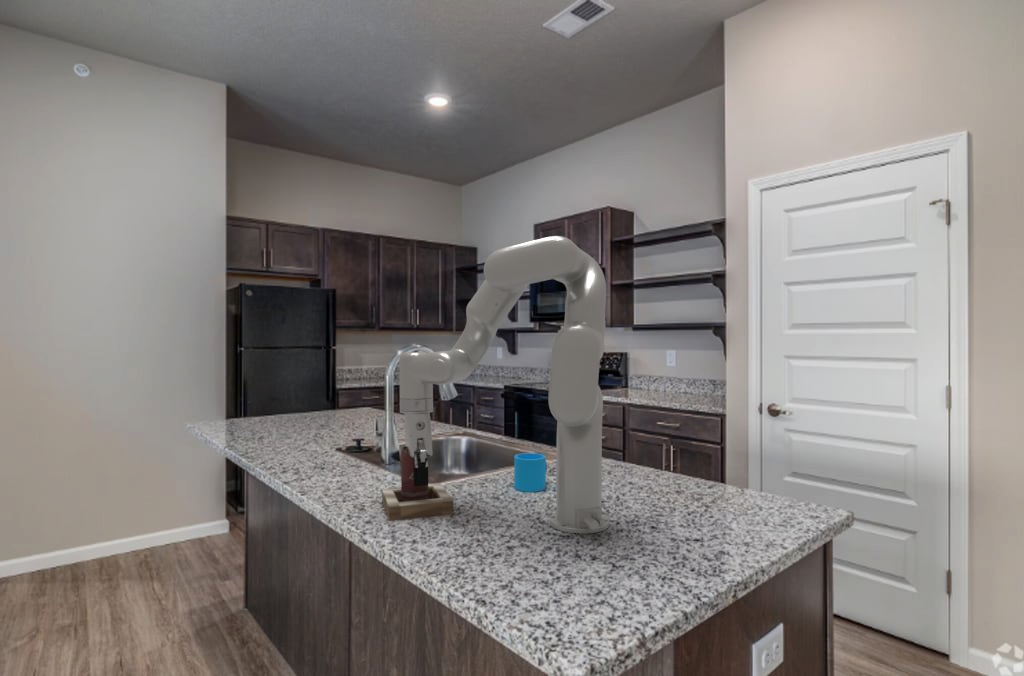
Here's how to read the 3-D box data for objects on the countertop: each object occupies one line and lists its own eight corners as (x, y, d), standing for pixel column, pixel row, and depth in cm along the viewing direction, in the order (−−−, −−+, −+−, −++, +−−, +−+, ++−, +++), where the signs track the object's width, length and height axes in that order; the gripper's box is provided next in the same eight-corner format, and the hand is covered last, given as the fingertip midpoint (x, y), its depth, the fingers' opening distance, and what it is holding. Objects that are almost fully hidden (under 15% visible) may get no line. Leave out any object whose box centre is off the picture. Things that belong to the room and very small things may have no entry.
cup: (431, 503, 129) (431, 444, 130) (424, 512, 123) (423, 449, 123) (406, 503, 130) (406, 444, 130) (397, 511, 124) (397, 449, 124)
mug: (534, 493, 138) (534, 461, 138) (508, 488, 143) (508, 457, 143) (558, 483, 148) (558, 452, 148) (533, 478, 152) (533, 449, 152)
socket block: (453, 514, 122) (453, 499, 122) (389, 521, 117) (388, 506, 117) (440, 497, 135) (440, 483, 135) (382, 503, 130) (382, 489, 130)
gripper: (440, 409, 119) (441, 488, 119) (426, 400, 135) (426, 470, 135) (405, 411, 116) (406, 491, 116) (395, 402, 133) (396, 473, 133)
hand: (417, 480), depth 126 cm, fingers open, 9 cm apart
